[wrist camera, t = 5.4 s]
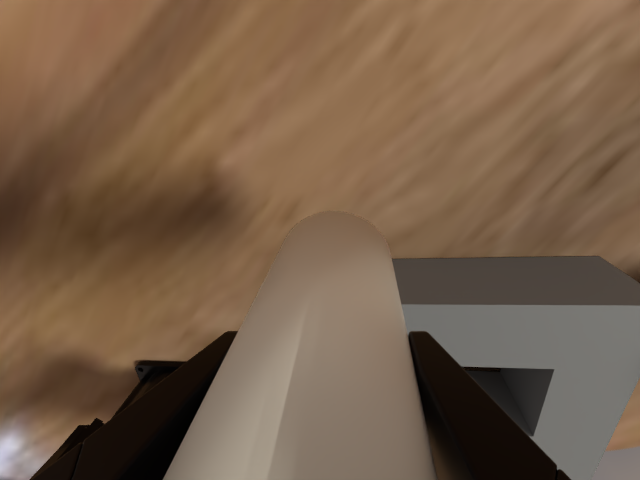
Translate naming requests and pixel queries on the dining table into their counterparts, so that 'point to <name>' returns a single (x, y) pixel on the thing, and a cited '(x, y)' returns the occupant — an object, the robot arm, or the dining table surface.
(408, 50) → the dining table surface
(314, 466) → the peg
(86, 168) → the dining table surface
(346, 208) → the dining table surface
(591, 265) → the socket block
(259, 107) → the dining table surface
